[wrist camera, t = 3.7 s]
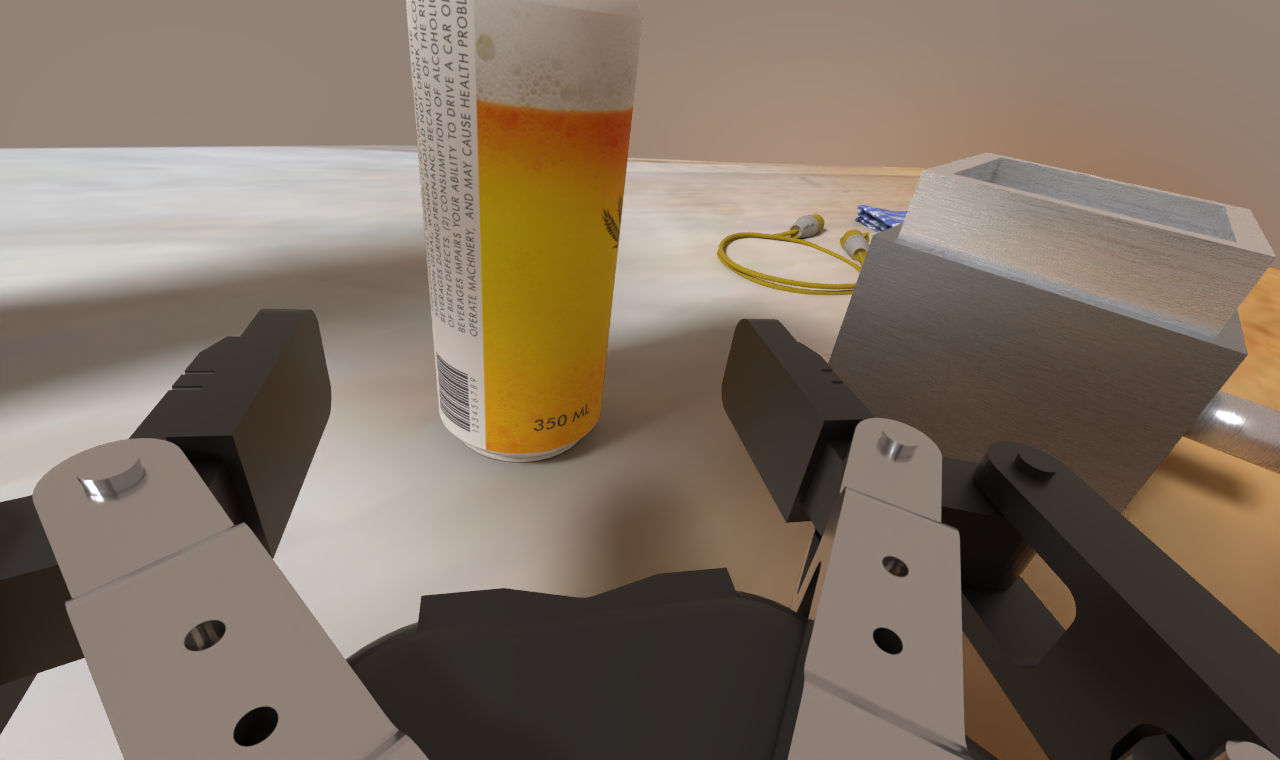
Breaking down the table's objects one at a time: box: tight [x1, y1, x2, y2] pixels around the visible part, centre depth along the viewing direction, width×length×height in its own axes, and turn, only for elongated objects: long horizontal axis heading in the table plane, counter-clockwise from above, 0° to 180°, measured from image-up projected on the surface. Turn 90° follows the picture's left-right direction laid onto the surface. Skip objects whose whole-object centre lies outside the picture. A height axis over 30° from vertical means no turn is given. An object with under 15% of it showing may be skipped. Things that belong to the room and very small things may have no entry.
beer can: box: [406, 0, 642, 462], centre depth 18 cm, size 6×6×15 cm
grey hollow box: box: [828, 152, 1280, 513], centre depth 23 cm, size 15×11×10 cm
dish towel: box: [855, 205, 908, 233], centre depth 49 cm, size 17×24×3 cm
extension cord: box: [717, 214, 870, 295], centre depth 43 cm, size 12×16×2 cm
